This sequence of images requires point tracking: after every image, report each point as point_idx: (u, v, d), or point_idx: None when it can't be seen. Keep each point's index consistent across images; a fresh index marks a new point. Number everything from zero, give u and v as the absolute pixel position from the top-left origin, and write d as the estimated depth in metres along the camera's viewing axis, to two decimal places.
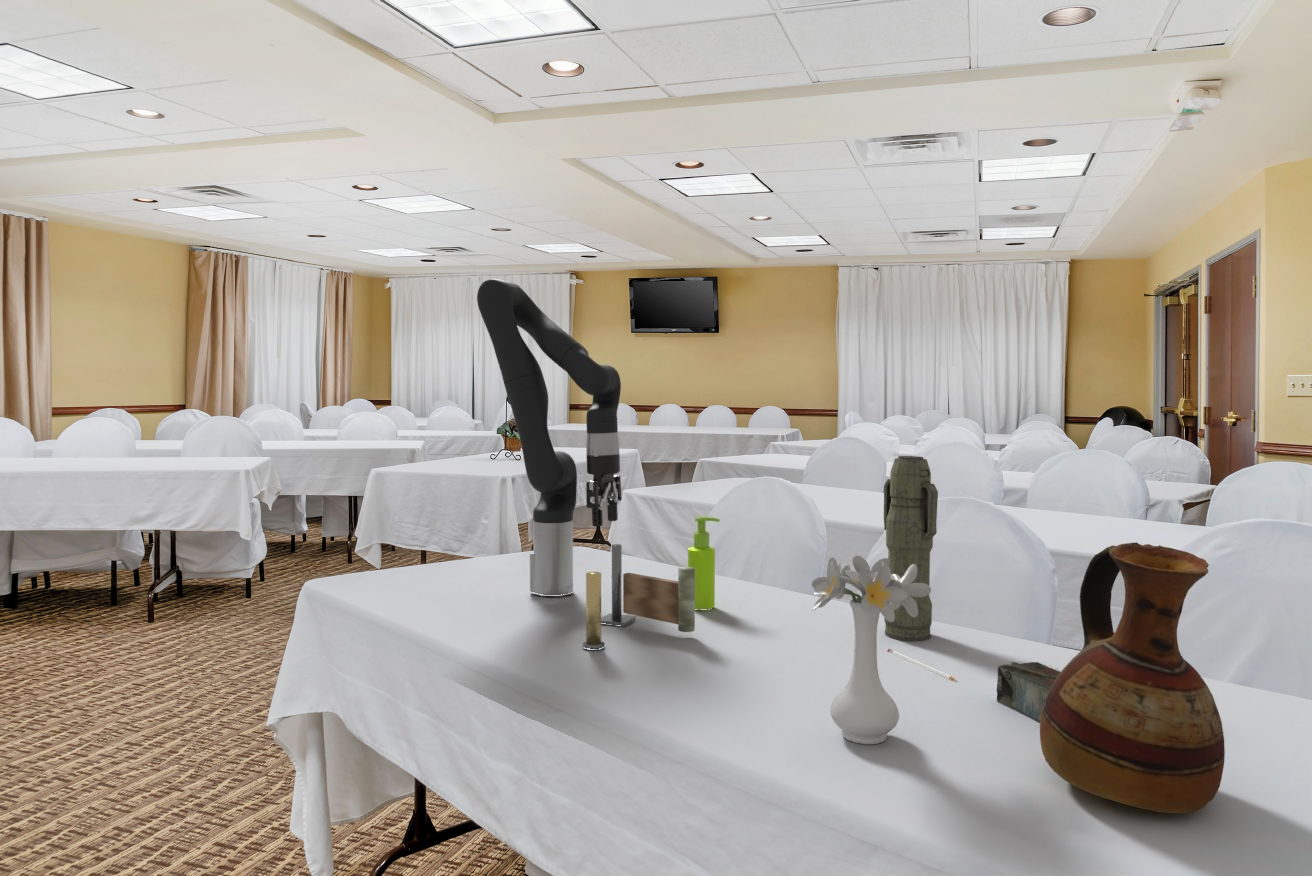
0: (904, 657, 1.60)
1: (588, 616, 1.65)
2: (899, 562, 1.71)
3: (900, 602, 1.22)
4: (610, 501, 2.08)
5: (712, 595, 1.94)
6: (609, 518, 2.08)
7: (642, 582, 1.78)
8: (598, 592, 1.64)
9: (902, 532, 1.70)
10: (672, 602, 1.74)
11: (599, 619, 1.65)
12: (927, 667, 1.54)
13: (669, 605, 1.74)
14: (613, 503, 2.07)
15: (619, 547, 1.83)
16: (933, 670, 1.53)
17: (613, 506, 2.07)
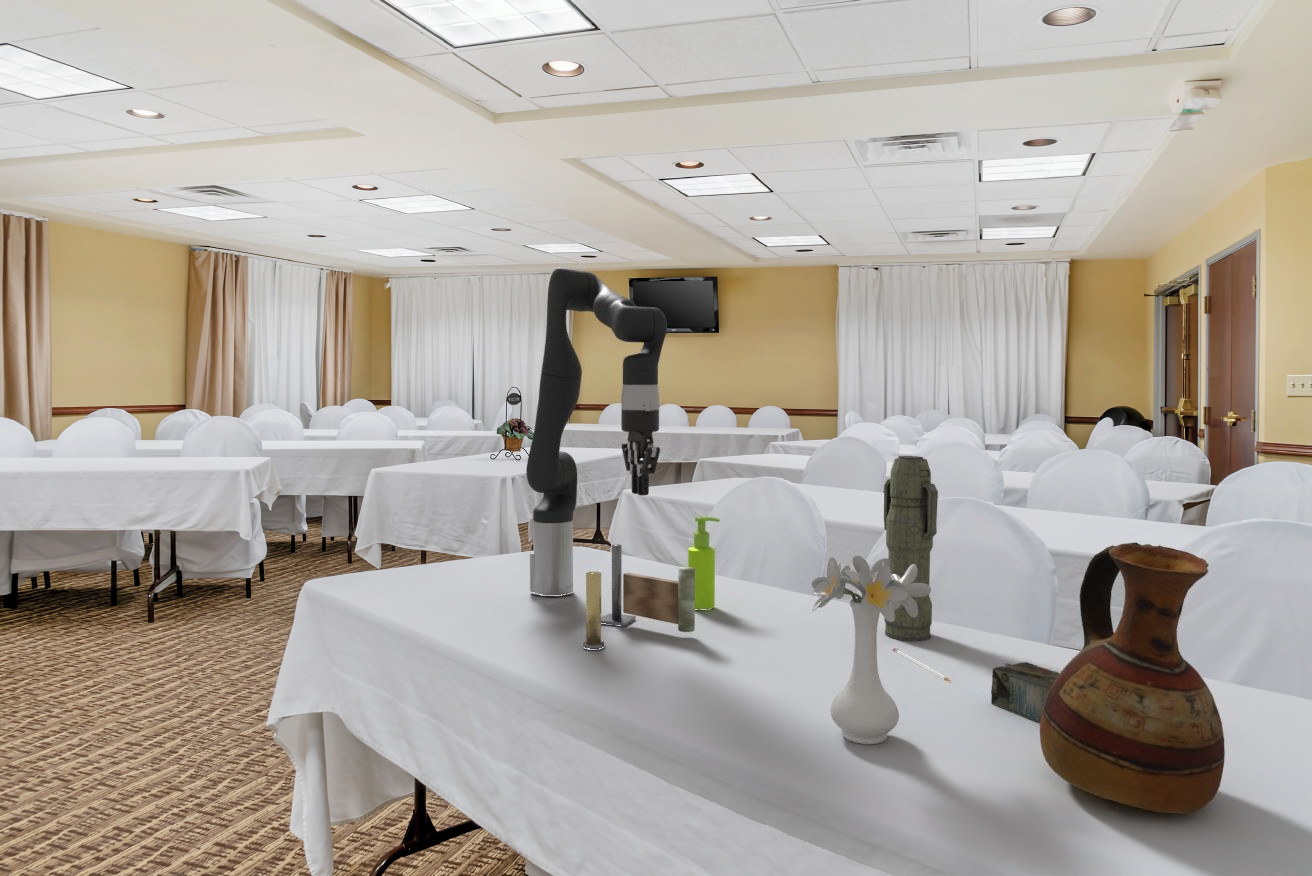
0: (907, 657, 1.60)
1: (588, 616, 1.65)
2: (899, 562, 1.71)
3: (900, 602, 1.21)
4: (635, 469, 1.79)
5: (712, 595, 1.94)
6: (634, 491, 1.79)
7: (642, 582, 1.78)
8: (598, 592, 1.64)
9: (902, 532, 1.70)
10: (672, 602, 1.74)
11: (599, 619, 1.65)
12: (926, 667, 1.54)
13: (669, 605, 1.74)
14: None
15: (619, 547, 1.83)
16: (931, 670, 1.52)
17: None
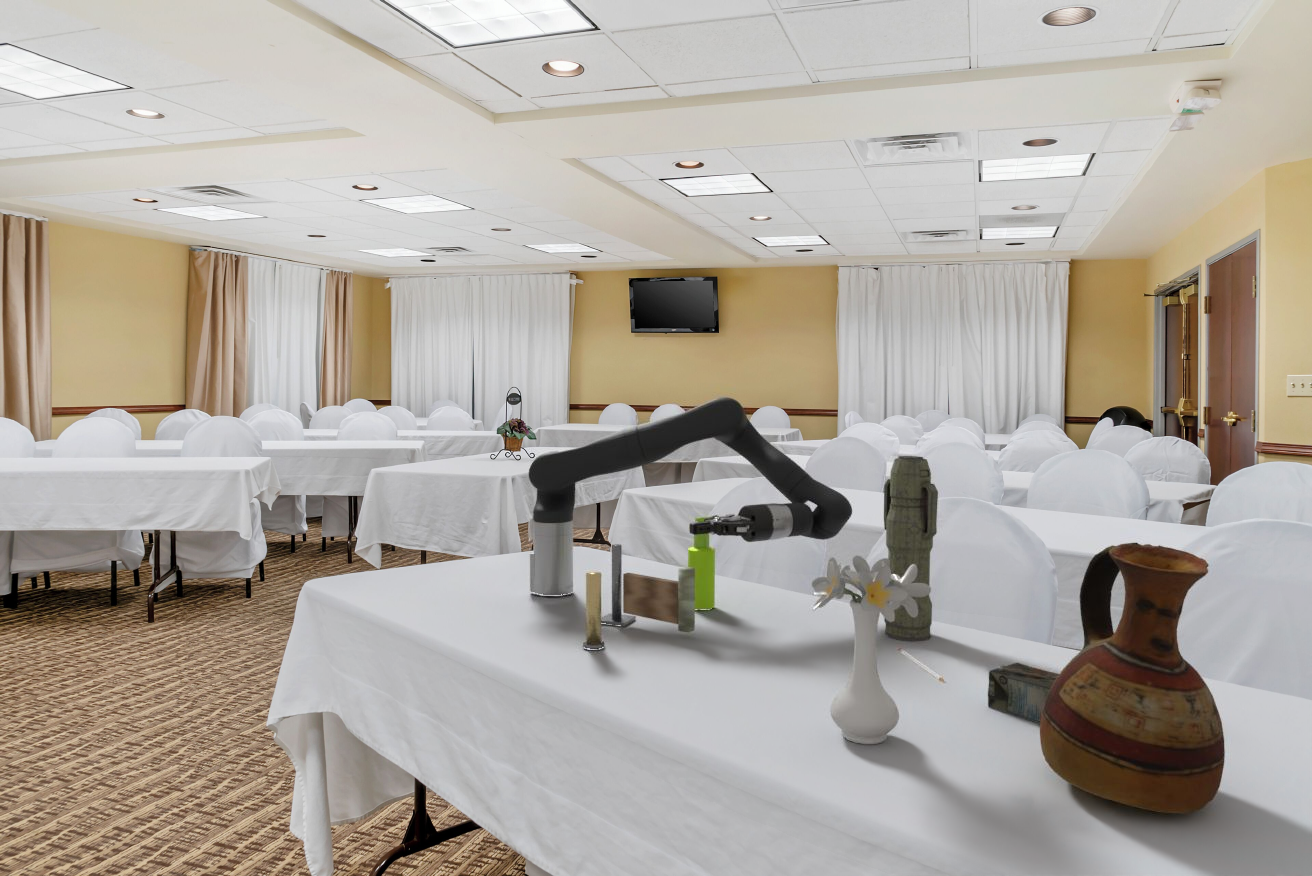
0: (909, 657, 1.60)
1: (588, 616, 1.65)
2: (899, 562, 1.71)
3: (900, 602, 1.22)
4: None
5: (712, 595, 1.94)
6: None
7: (642, 582, 1.78)
8: (598, 592, 1.64)
9: (902, 532, 1.70)
10: (672, 602, 1.74)
11: (599, 619, 1.65)
12: (924, 667, 1.54)
13: (669, 605, 1.74)
14: None
15: (619, 547, 1.83)
16: (928, 670, 1.52)
17: None
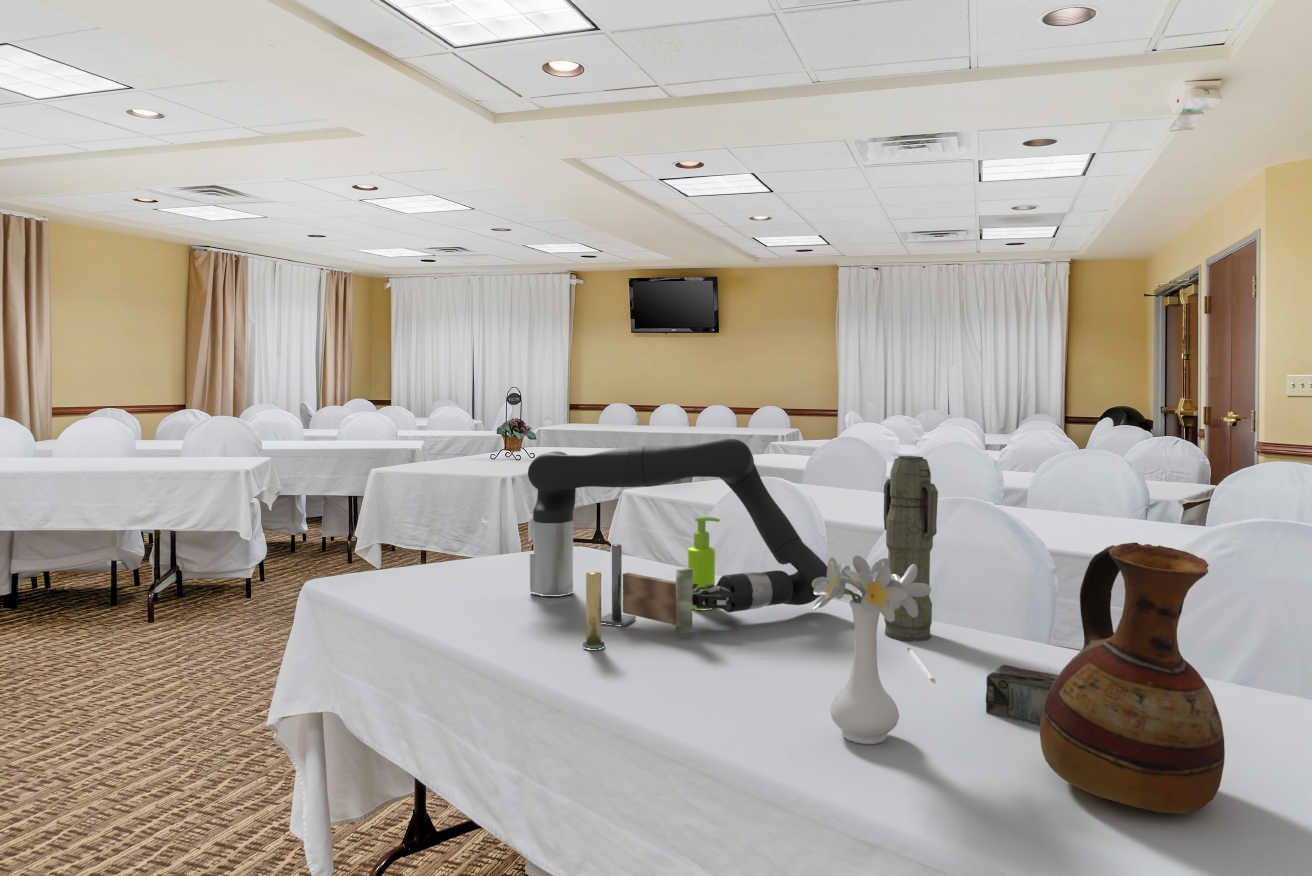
0: (913, 656, 1.60)
1: (588, 616, 1.65)
2: (899, 562, 1.71)
3: (900, 602, 1.22)
4: None
5: None
6: None
7: (641, 582, 1.78)
8: (598, 592, 1.64)
9: (902, 532, 1.70)
10: (670, 602, 1.73)
11: (599, 619, 1.65)
12: (922, 667, 1.54)
13: (667, 606, 1.74)
14: None
15: (619, 547, 1.83)
16: (924, 670, 1.52)
17: None
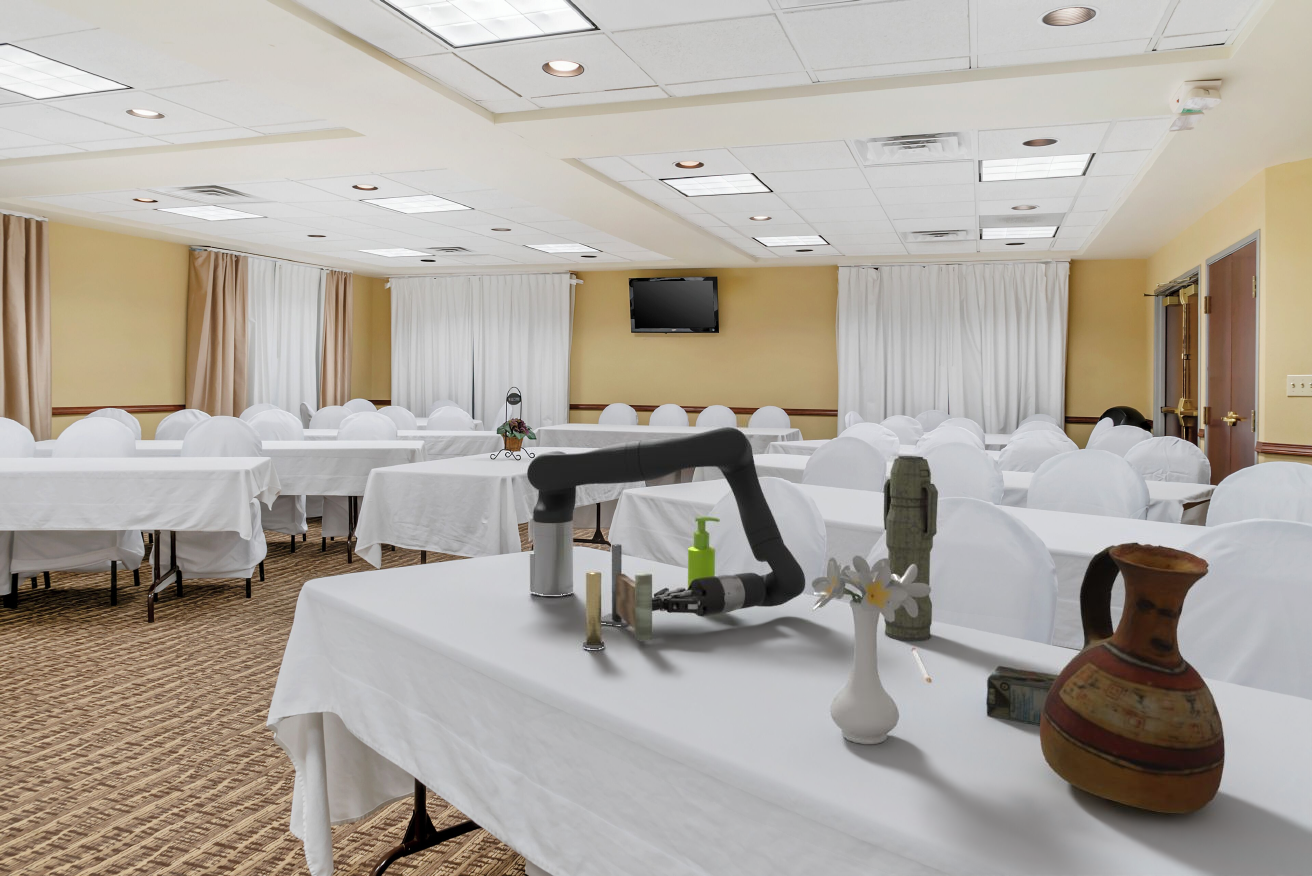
0: (916, 656, 1.60)
1: (588, 616, 1.65)
2: (899, 562, 1.71)
3: (900, 602, 1.21)
4: None
5: None
6: None
7: (623, 584, 1.76)
8: (598, 592, 1.64)
9: (902, 532, 1.70)
10: (635, 608, 1.69)
11: (599, 619, 1.65)
12: (921, 667, 1.54)
13: (633, 610, 1.70)
14: None
15: (619, 547, 1.83)
16: (922, 670, 1.52)
17: None
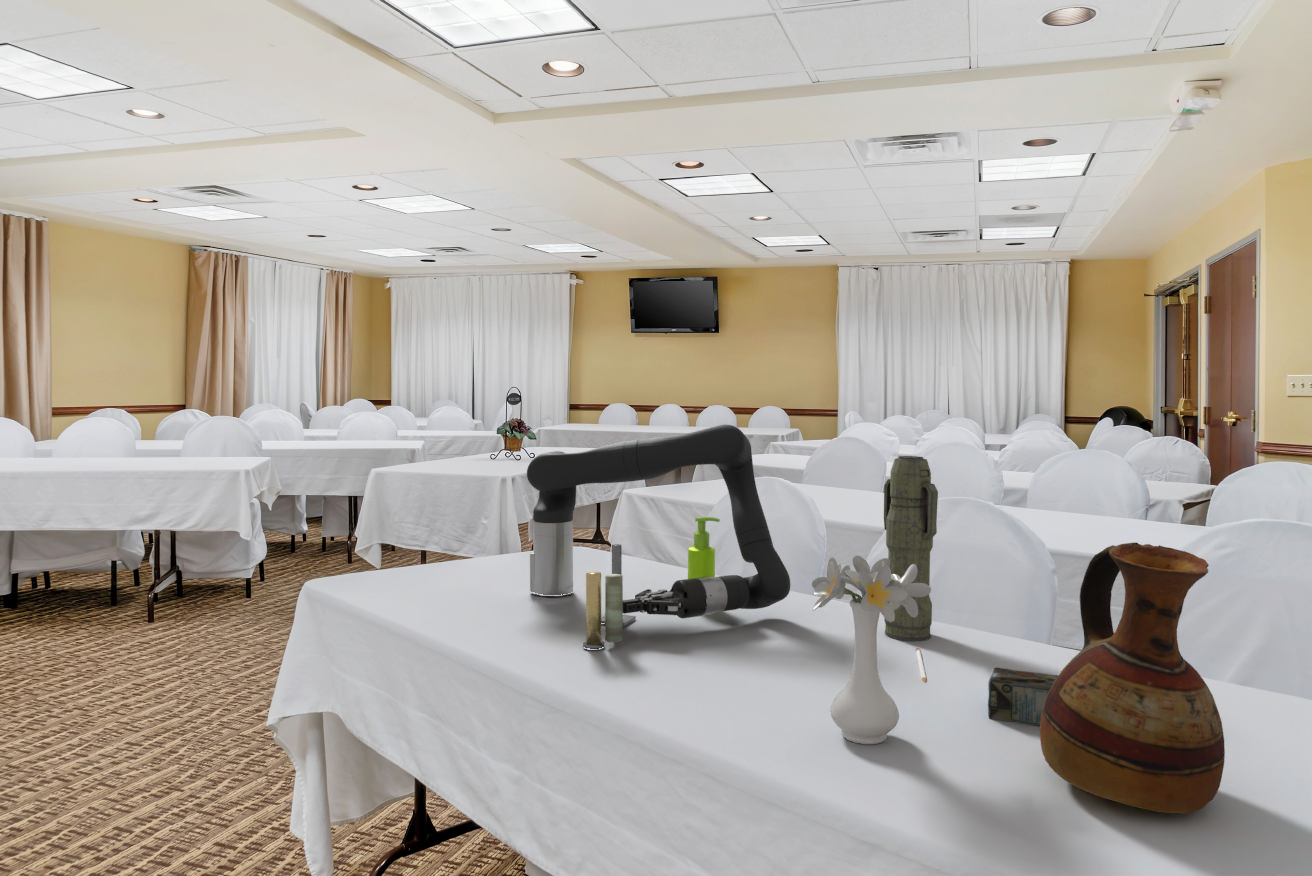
0: (918, 656, 1.60)
1: (588, 616, 1.65)
2: (899, 562, 1.71)
3: (900, 602, 1.22)
4: None
5: None
6: (623, 603, 1.71)
7: None
8: (598, 592, 1.64)
9: (902, 532, 1.70)
10: None
11: (599, 619, 1.65)
12: (920, 667, 1.54)
13: None
14: None
15: (619, 547, 1.83)
16: (921, 670, 1.53)
17: None
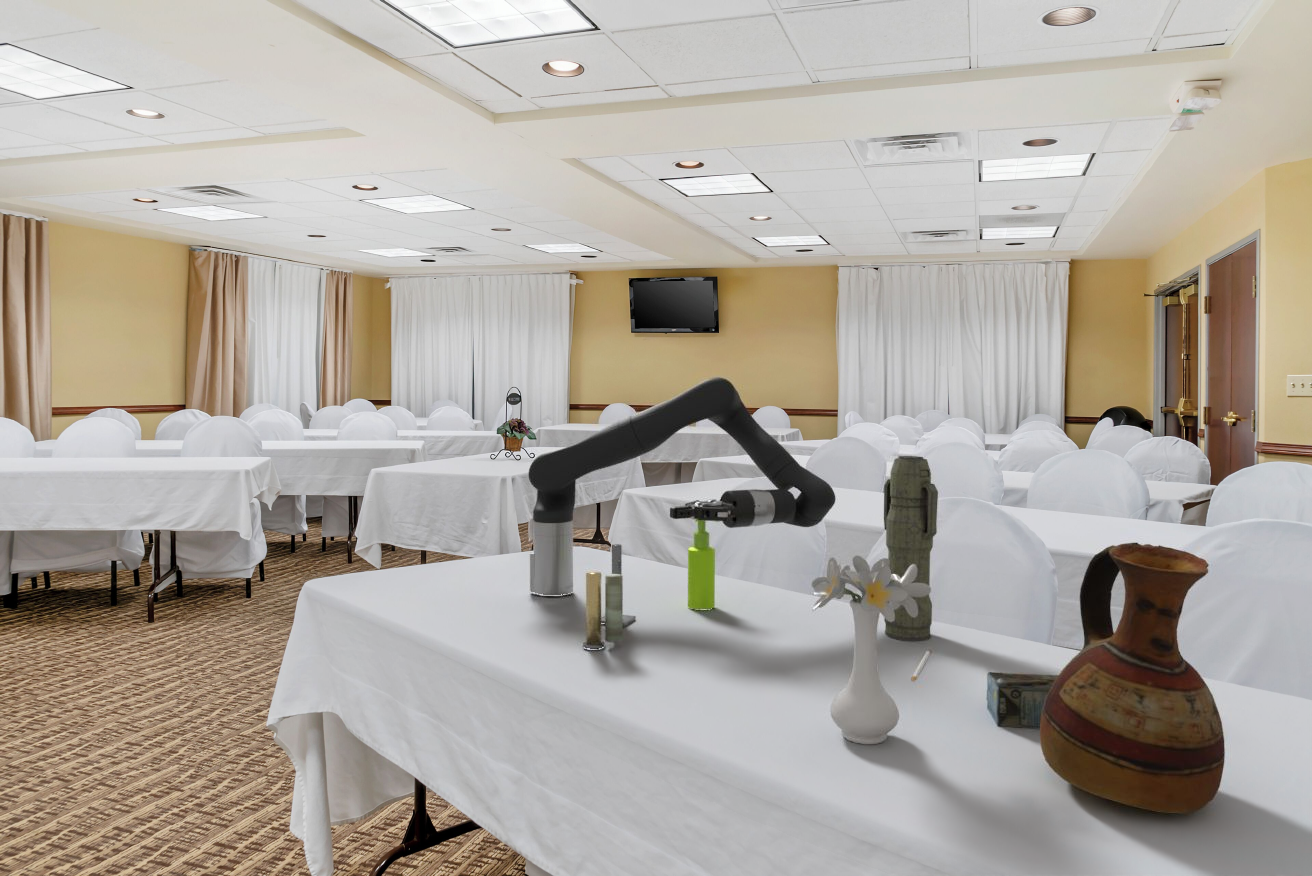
0: (923, 657, 1.60)
1: (588, 616, 1.65)
2: (899, 562, 1.71)
3: (900, 602, 1.21)
4: None
5: (712, 595, 1.94)
6: None
7: None
8: (598, 592, 1.64)
9: (902, 532, 1.70)
10: None
11: (599, 619, 1.65)
12: (918, 667, 1.54)
13: None
14: None
15: (619, 547, 1.83)
16: (916, 670, 1.53)
17: None
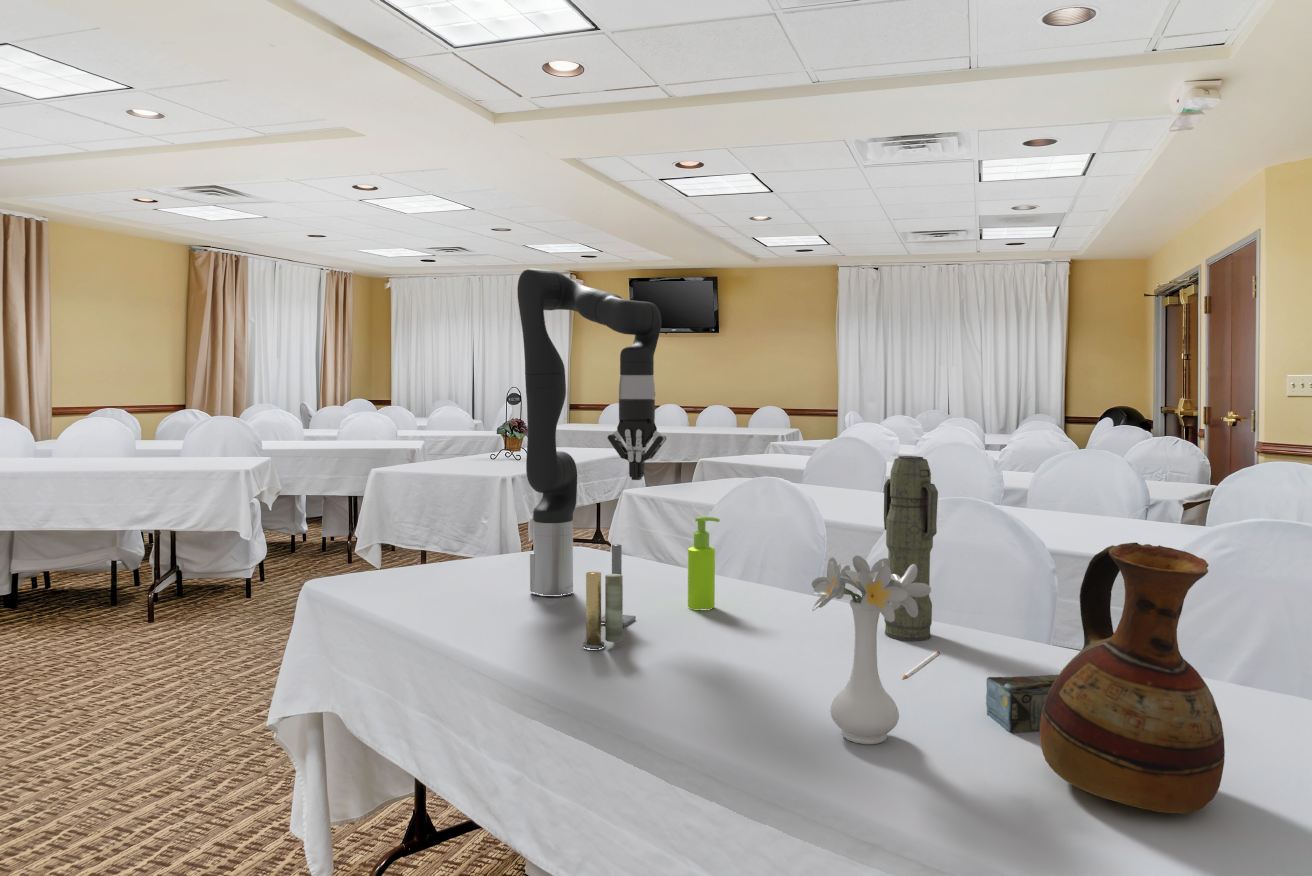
0: None
1: (588, 616, 1.65)
2: (899, 562, 1.71)
3: (900, 602, 1.21)
4: (633, 456, 1.87)
5: (712, 595, 1.94)
6: None
7: None
8: (598, 592, 1.64)
9: (902, 532, 1.70)
10: None
11: (599, 619, 1.65)
12: (915, 666, 1.55)
13: None
14: None
15: (619, 547, 1.83)
16: (912, 669, 1.53)
17: None
